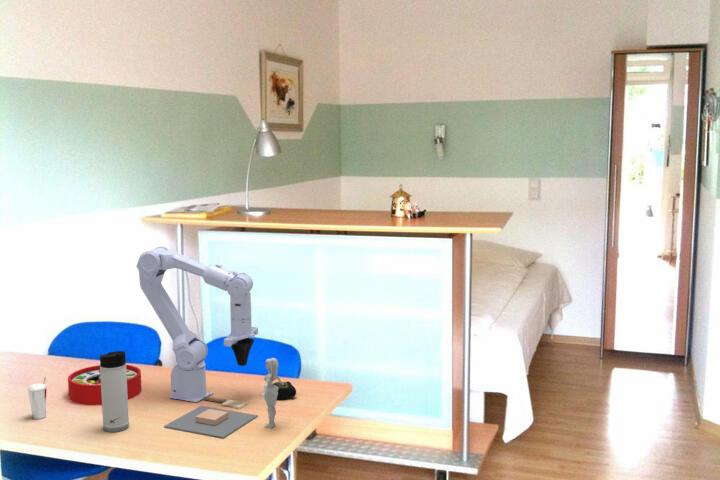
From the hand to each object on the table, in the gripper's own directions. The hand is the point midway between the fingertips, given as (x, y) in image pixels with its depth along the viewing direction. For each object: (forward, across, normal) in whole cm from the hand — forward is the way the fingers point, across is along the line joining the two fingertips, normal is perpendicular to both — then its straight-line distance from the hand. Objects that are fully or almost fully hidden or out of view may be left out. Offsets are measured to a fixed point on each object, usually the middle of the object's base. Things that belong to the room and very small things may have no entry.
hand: (242, 365), depth 212 cm
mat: (+10, -18, -2) cm, 21 cm away
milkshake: (+10, -33, +42) cm, 54 cm away
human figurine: (+10, -14, -18) cm, 25 cm away
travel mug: (+10, -31, +18) cm, 37 cm away
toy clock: (+10, -12, +39) cm, 42 cm away
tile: (+9, -15, -2) cm, 17 cm away
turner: (+10, -5, +3) cm, 11 cm away
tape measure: (+10, +7, -10) cm, 16 cm away
